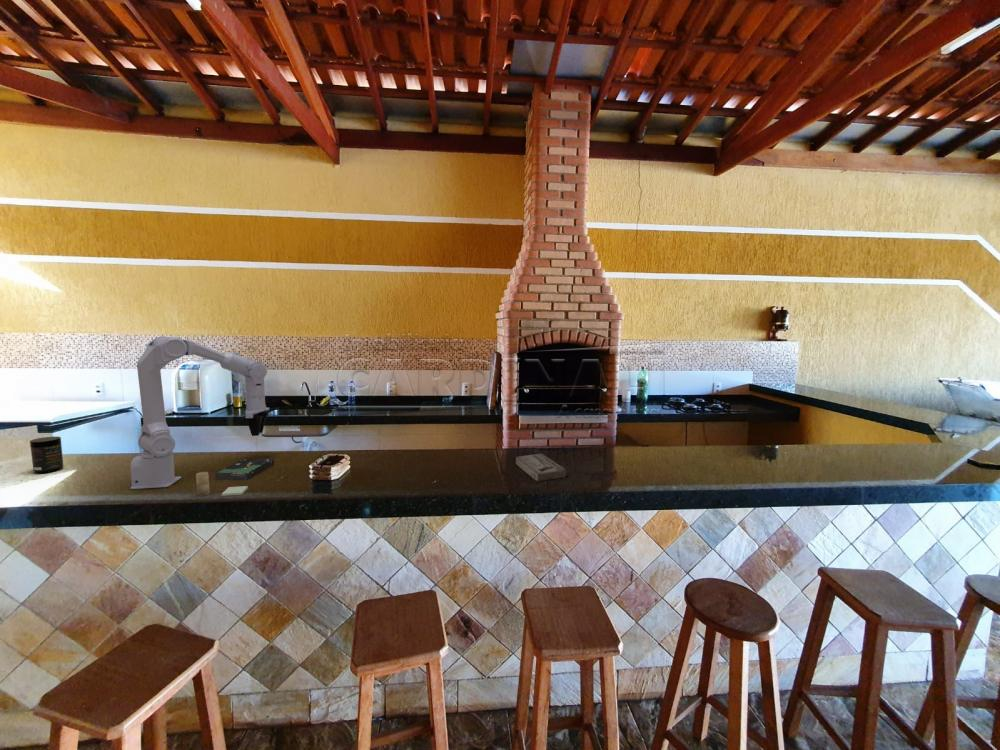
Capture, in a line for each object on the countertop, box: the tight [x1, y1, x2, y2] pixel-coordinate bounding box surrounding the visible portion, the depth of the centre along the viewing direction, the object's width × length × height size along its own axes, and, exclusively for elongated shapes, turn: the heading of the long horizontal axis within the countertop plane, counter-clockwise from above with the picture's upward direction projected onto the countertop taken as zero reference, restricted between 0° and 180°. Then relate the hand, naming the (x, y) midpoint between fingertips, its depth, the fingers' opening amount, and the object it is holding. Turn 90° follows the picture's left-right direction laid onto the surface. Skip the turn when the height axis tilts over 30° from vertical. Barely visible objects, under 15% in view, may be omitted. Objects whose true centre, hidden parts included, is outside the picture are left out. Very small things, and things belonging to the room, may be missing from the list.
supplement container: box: [29, 436, 65, 475], centre depth 133 cm, size 7×7×10 cm
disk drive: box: [214, 457, 275, 481], centre depth 136 cm, size 10×3×15 cm
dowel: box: [195, 471, 210, 497], centre depth 117 cm, size 3×3×6 cm
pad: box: [221, 485, 249, 497], centre depth 119 cm, size 5×5×1 cm
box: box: [515, 452, 567, 482], centre depth 141 cm, size 11×17×3 cm, turn 23°
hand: (257, 434), depth 147 cm, fingers open, 3 cm apart
